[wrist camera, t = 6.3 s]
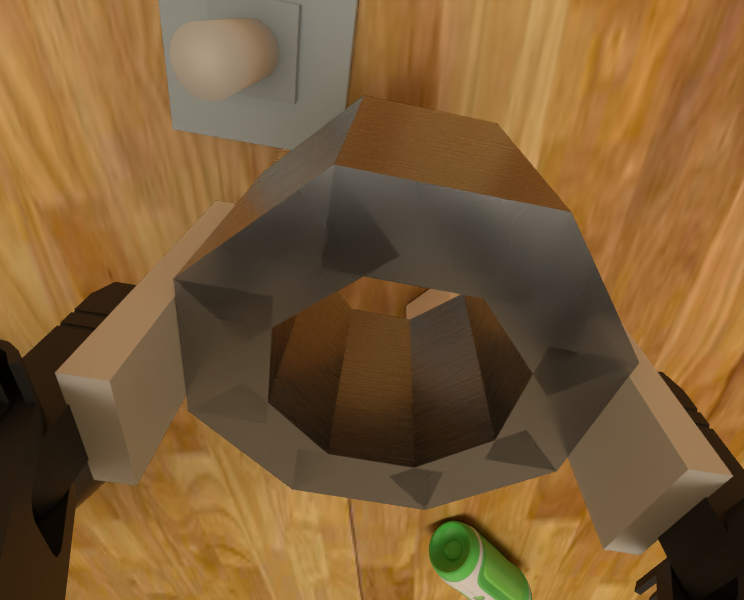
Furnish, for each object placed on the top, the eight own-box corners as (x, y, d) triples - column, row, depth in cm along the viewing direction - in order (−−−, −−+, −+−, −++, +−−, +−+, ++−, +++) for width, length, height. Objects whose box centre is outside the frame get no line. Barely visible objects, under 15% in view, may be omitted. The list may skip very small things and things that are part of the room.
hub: (259, 330, 16) (195, 474, 11) (266, 75, 11) (155, 128, 6) (481, 369, 16) (516, 524, 11) (588, 142, 11) (730, 243, 6)
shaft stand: (182, 124, 29) (101, 167, 21) (161, -92, 22) (34, -146, 14) (341, 152, 29) (321, 204, 21) (364, -51, 23) (348, -82, 15)
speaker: (423, 523, 57) (426, 585, 51) (470, 508, 55) (479, 572, 49) (484, 573, 65) (492, 632, 59) (527, 562, 62) (542, 623, 56)
